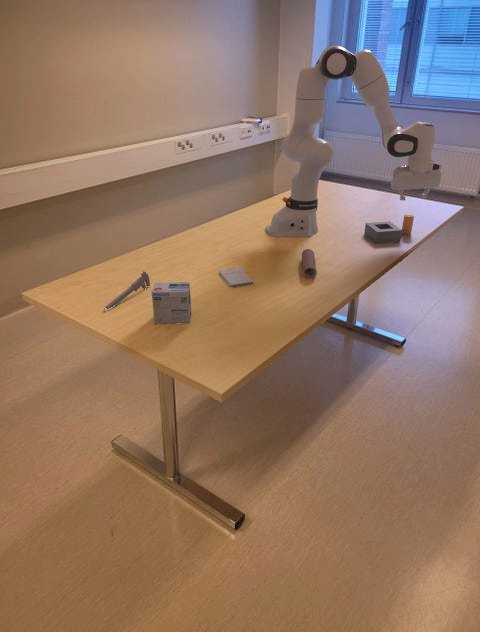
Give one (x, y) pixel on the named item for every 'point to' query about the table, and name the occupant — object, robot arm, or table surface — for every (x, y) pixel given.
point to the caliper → (131, 289)
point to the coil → (309, 264)
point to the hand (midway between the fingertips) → (412, 199)
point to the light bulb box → (171, 302)
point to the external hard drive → (235, 277)
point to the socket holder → (383, 232)
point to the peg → (407, 225)
